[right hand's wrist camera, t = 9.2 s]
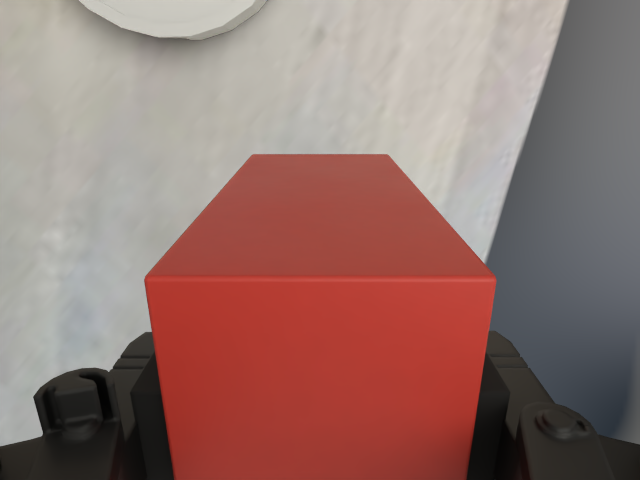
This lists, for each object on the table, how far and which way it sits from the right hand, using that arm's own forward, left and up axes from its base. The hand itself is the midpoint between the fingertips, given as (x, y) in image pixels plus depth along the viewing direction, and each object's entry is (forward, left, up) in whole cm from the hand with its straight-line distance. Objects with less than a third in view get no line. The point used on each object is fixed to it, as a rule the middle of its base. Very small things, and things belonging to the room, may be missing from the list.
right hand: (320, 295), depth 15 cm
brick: (0, 0, -5) cm, 5 cm away
